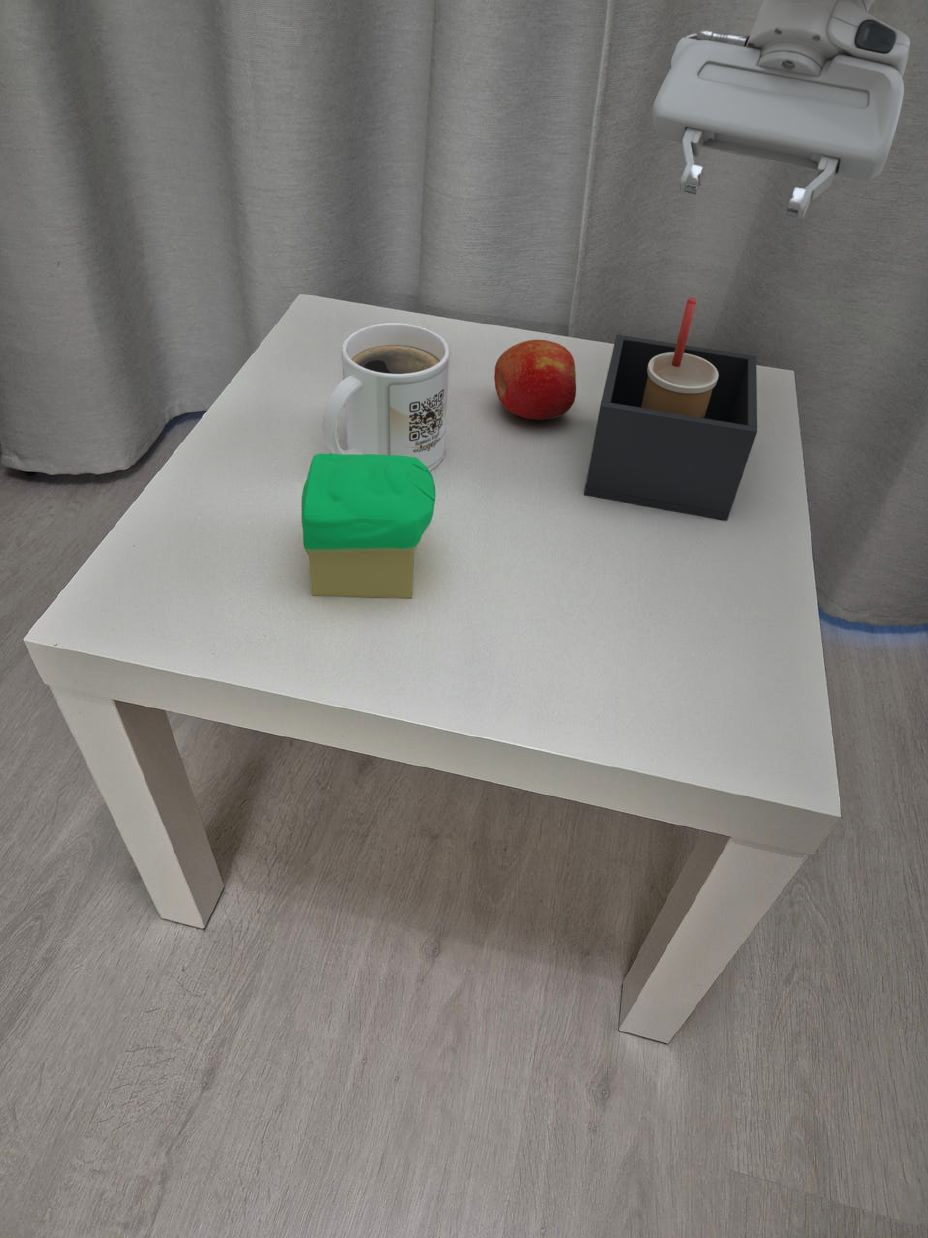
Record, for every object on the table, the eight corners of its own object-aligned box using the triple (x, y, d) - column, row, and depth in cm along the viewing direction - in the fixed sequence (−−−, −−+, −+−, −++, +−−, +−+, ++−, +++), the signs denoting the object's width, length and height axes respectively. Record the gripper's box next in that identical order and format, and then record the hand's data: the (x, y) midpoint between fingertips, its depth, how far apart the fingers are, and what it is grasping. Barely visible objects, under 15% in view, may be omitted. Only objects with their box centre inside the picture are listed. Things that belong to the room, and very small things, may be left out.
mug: (452, 480, 84) (458, 377, 77) (327, 487, 83) (319, 382, 75) (438, 420, 92) (441, 320, 84) (322, 425, 90) (314, 323, 82)
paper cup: (706, 468, 87) (753, 310, 75) (657, 486, 84) (698, 326, 72) (663, 435, 90) (702, 280, 79) (615, 452, 88) (648, 294, 76)
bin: (727, 520, 82) (757, 431, 75) (583, 495, 84) (600, 405, 77) (729, 441, 92) (756, 356, 85) (600, 419, 93) (616, 334, 86)
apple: (572, 437, 91) (583, 367, 85) (491, 432, 91) (497, 362, 85) (567, 396, 96) (577, 328, 91) (491, 392, 96) (497, 323, 90)
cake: (432, 605, 72) (435, 509, 65) (302, 601, 72) (291, 504, 65) (433, 529, 79) (436, 435, 72) (314, 525, 79) (306, 430, 72)
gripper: (682, 0, 75) (623, 155, 76) (931, 41, 69) (865, 209, 70) (685, 50, 81) (630, 193, 82) (914, 92, 75) (853, 245, 76)
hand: (740, 201), depth 76 cm, fingers open, 8 cm apart
